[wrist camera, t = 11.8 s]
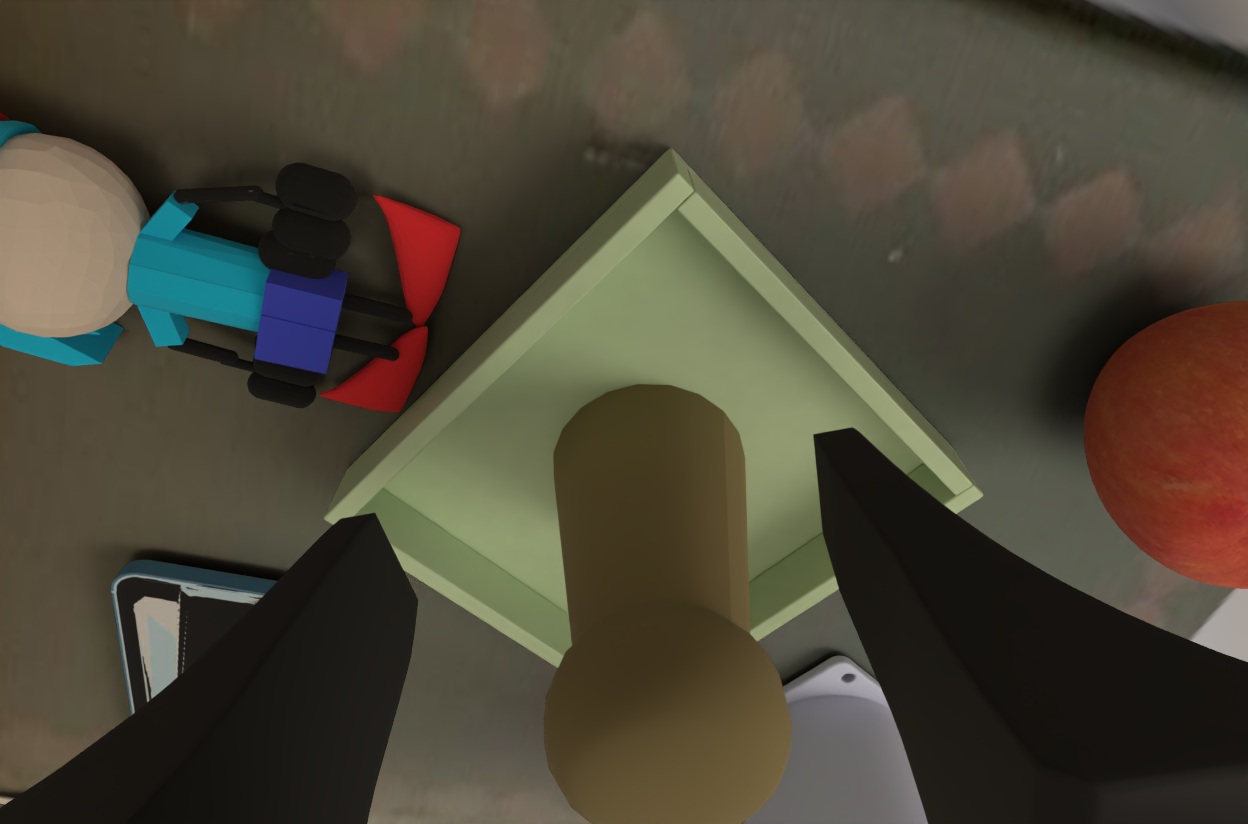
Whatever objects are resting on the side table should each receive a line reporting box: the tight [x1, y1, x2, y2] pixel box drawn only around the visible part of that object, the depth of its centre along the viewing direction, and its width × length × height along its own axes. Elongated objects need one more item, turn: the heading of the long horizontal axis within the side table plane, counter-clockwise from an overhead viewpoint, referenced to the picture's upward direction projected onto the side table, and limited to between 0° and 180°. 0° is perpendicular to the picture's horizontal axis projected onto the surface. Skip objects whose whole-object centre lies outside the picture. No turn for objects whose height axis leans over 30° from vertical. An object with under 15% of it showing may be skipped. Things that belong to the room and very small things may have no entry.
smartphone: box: [111, 560, 277, 715], centre depth 30 cm, size 7×1×15 cm
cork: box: [544, 384, 792, 824], centre depth 20 cm, size 6×6×11 cm
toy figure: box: [0, 112, 461, 412], centre depth 19 cm, size 8×5×15 cm
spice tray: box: [324, 148, 983, 668], centre depth 24 cm, size 13×14×2 cm
